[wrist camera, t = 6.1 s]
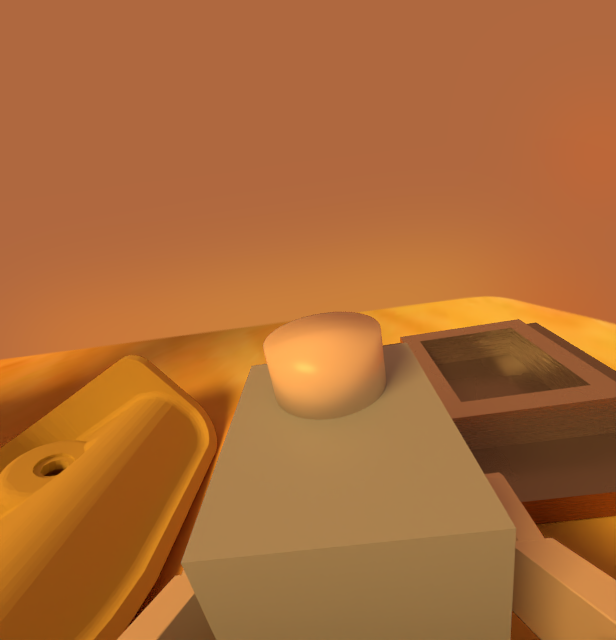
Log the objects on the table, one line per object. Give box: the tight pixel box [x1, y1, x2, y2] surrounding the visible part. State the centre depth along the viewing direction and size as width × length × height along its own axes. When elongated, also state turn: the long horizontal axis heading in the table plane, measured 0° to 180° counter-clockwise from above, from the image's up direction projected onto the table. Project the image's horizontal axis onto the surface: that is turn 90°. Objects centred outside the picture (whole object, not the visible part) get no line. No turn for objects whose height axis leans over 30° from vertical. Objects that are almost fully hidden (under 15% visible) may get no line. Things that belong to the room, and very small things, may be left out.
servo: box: [181, 312, 516, 640], centre depth 8 cm, size 4×5×10 cm
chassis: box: [384, 319, 616, 524], centre depth 19 cm, size 13×14×3 cm
